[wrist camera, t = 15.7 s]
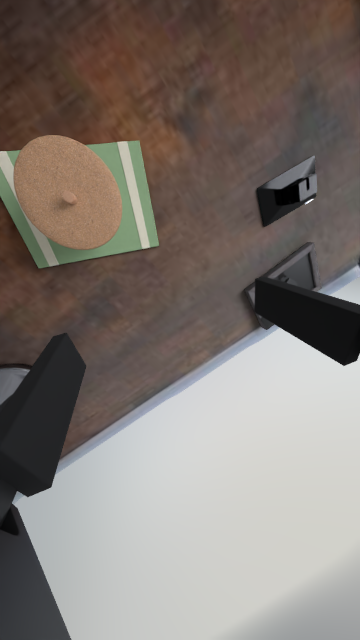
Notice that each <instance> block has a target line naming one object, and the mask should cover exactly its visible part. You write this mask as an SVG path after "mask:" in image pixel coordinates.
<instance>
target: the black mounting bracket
mask: <svg viewBox="0 0 360 640" xmlns="http://www.w3.org/2000/svg"><path fill="white" fill-rule="evenodd" d="M316 192H317V177H316V174H315V156H312V157H310V158H308V159H307V160H305V161H303V162H302V163H300V164H298V165H296V166H295V167H293V168H291V169H290V170H288V171H286V172H284V173H283V174H281V175H279V176H278V177H276V178H274V179H272V180H271V181H269V182H267V183H266V184H264V185H262V186H260V187H259V188H257V194H258V199H259V205H260V210H261V215H262V221H263V226H264V227H266V226H267V225H269V224H271V223H273V222H274V221H276V220H278V219H279V218H281V217H283V216H284V215H286V214H288V213H290V212H291V211H293V210H295V209H296V208H298V207H300V206H301V205H303V204H307V203H308V202H310V201H312V200H313V198H315V197H316Z"/></svg>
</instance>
